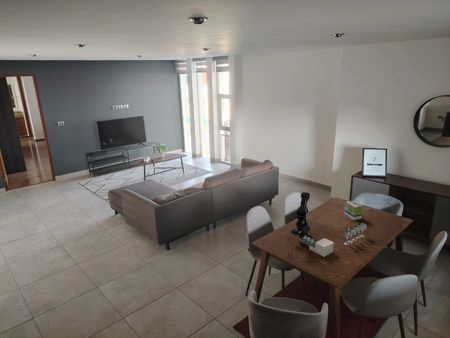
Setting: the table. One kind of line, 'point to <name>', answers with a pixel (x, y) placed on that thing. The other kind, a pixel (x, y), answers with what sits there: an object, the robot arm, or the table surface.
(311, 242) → the tray
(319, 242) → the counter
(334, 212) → the table surface
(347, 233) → the goblet set
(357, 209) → the tea box
